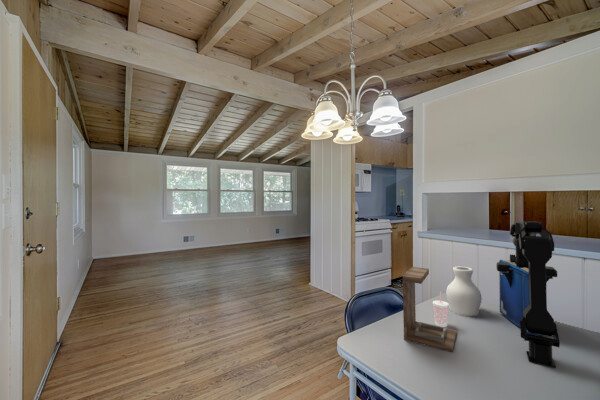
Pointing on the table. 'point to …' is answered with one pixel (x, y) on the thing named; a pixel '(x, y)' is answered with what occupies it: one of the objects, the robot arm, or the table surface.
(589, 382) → the table surface
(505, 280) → the book
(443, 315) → the beverage cup
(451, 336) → the wooden headphone stand
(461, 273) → the vase
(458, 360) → the table surface
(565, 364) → the table surface
